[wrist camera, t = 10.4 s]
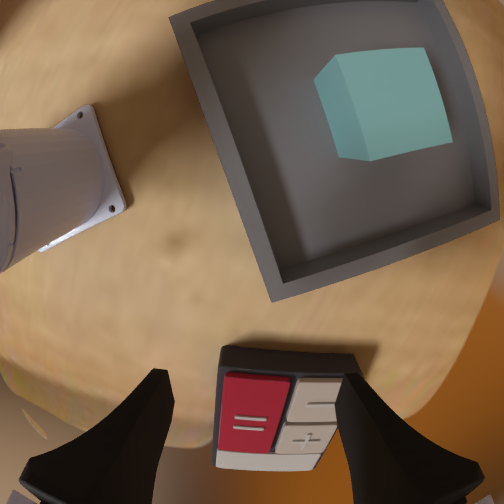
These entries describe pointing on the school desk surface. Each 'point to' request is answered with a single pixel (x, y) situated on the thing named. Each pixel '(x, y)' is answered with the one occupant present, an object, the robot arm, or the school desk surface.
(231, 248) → the school desk surface
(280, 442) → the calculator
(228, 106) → the charcoal tray
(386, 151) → the teal cube
